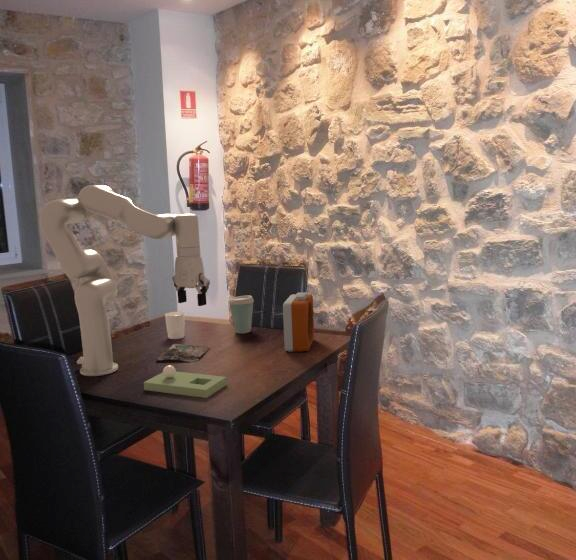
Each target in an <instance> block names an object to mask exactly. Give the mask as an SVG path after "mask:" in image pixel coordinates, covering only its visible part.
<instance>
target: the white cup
mask: <svg viewBox="0 0 576 560" xmlns="http://www.w3.org/2000/svg"><path fill="white" fill-rule="evenodd" d="M164 318H165V325H166V332H167V338H168V339H170V340H179V339H183V338H184V337H185V328H186V327H185V326H186V325H185V324H186V323H185V322H186V321H185V320H186V319H185V312H183V311H172V312H171V311H169V312H166V313H165V314H164Z"/></svg>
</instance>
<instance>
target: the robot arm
mask: <svg viewBox="0 0 576 560" xmlns="http://www.w3.org/2000/svg"><path fill="white" fill-rule="evenodd" d="M98 215H99V216H102V217H104V218H106V219H109V220H112V221H114V222H117V223H119V224H121V226H123V227H125V228H127V229H128V230H129V231H132V232H135V233H136V234H138V235H142V236H145V237H147V238H149V239H153V240H162V239H164V238H168V237H170V238H171V237H175V244H176V257H175V262H174V276H172V278H171V279H172V282H173V286H174V287H175V292H177V300H178V301H177V303H178V304H182V303H187V300H188V299H187V290H186V288H187V289H195V290H196V291H197V294H196V295H197V296H196V300H197V306H198V307H202V306H206V305H207V293H208V290H209V287H210V284H211V281H210V279H209V278H207V277H206V276H205V268H204V262H203V258H202V256H201V245H200V229H199V227H200V226H199V217H198V215H197V214H195V213H181V214H172V213H163V214H154V213H151V212H149V211H147V210H143V209H140V208H139V207H137V206H135V205H134V204H133V201H132V200H131V199H130V198H129V197H126V196H123V195H121V194H118V193H116V192H114V190H113V189H112V188H111V187H109V186H107V185H104V184H91V185H90V184H89V185H85V186H84V187H83V188H81V190H80V191H79V193H78V196H76V197H73V198H57V199H53V200H51V201H49V202H47V203H46V204H45V205H44V206H43V208H42V209H41V211H40V214H39V227H40V230H41V232H42V234H43V236H44V237H45V239H46V241H47V242H48V245H49V246H50V247H51V250H52V251H53V253H54V255H55V258H57V259H56V260H57V261H58V262H59V265H60V266H61V268H62V270H63V272H64V274H65V275H66V277H68V278H69V279H71V280H74V281H77V280H85V281H83V282H82V283H81V284H80V285H78V286H77V287H76V289H75V291H74V303H75V306H76V310H77V313H78V314H77V315H78V319H79V328H80V336H81V347H82V355H83V356H79V358H78V359H77V361H76V364H77V365H81V368H80V369H79V374H80V375H82V376H84V377H98V376H105V375H109V374H112V373H114V372H116V371H118V369H119V365H118V363H116V362H114V357H113V347H112V345H113V344H112V336H111V325H110V319H109V314H108V311H107V309H106V304H108V303H110V302H112V301H113V300H114V299H115V298H116V297H117V295H118V285H117V282H116V280H115V278H114V277H113V275H112V273H111V271H110V269H109V268H108V265H107V264H106V262H105V260H104V258H103V257H102V256H101V254H100V253H99V252H98V251H96V250H93V249H90V248H84V249H83V247H82V246H81V245H80V243H79V241H78V239H77V237H76V235H75V234H74V233H73V232H72V230H70V229H69V228H68V225H72V224H78V223H81V222H85V221H87V220H88V219H89V220H90V219H91V218H93V217H96V216H98Z"/></svg>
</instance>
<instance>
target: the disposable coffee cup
mask: <svg viewBox="0 0 576 560" xmlns="http://www.w3.org/2000/svg"><path fill="white" fill-rule="evenodd" d="M254 302H255V300H254V298H253V296H252V295H240V296H235V297H231V298H230V299H229V300H228V304H229V308H230V314H231V319H232V324H233V328H234V331H235V333H237V334H247V333H250V332H251V330H252V323H253V309H254Z"/></svg>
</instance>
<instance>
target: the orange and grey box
mask: <svg viewBox="0 0 576 560" xmlns="http://www.w3.org/2000/svg"><path fill="white" fill-rule="evenodd" d="M282 320H283V339H284V341H283V343H284V351H285V352H287V351H288V353H289V352H291V353H293V352H294V353H295V352H296V353H297V352H298V353H299V352H300V353H301V352H302V353H304V352H303V351H307V352H309V350H310V349H311V346H312V344H313V342H314V340H315V328H314V327H315V326H314V323H315V322H314V321H315V320H314V296H313V294H311V293H310V294H309V293H308V292H297V293H296V294H290V295H289V297H287V299H286V300H285V301H284V302H283V304H282Z"/></svg>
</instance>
